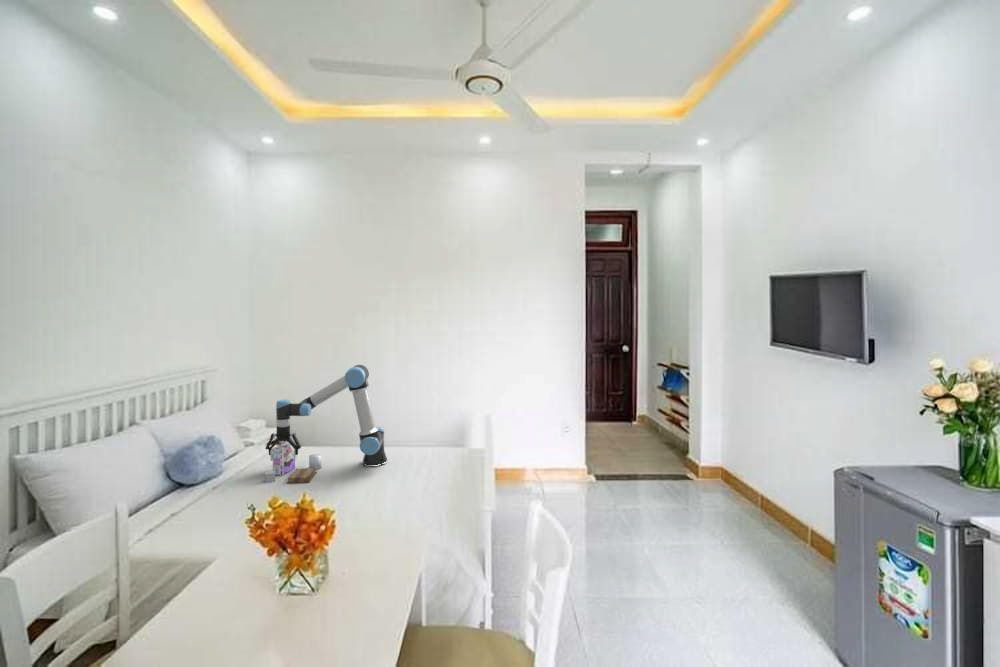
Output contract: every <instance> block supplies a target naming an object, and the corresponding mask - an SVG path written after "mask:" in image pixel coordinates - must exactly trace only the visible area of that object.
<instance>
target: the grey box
mask: <svg viewBox="0 0 1000 667" xmlns="http://www.w3.org/2000/svg"><path fill="white" fill-rule="evenodd" d="M264 475H265V484H267V483H273V482H275V483H276V475H275V470H274V471H273V470H268V471H267V470H266V471H265V472H264Z"/></svg>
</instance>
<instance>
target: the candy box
mask: <svg viewBox="0 0 1000 667" xmlns="http://www.w3.org/2000/svg"><path fill="white" fill-rule="evenodd" d="M272 449H273V460H272V471H274V470H275V476H280V477H281V476H284V475H286V474H287V473H290V472H292V471H293V470H296V460H295V461H294V450H295V449H294V448H293V447H292V445H291V444H290V443H289V442H287V441H285V442H284V443H282V444H280V445H278V446H274V447H273V448H272Z"/></svg>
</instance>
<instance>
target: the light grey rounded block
mask: <svg viewBox="0 0 1000 667" xmlns="http://www.w3.org/2000/svg"><path fill="white" fill-rule="evenodd" d="M308 466H309V467H308V468H316V471H318V470H321V469H322V454H320V453H313V454H310V455H309V457H308Z"/></svg>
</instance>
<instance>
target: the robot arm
mask: <svg viewBox="0 0 1000 667" xmlns="http://www.w3.org/2000/svg"><path fill="white" fill-rule="evenodd" d="M369 374H370V372H369V368H367V367H366V366H365V365H363V364H356V365H354V366H353V367H350V368H349V369H347V371H346V372H345V374H344V375H343V376H342V377H339V378H338V379H337V380H334V381H333V382H331V383H330V384H328V385H327V386H324V387H323V388H321V389H320V390H318V391H316V392H315V393H313V394H311V395H310V396H308V397H307V398H304V399H303V400H302V401H300V402H299V403H291V402H290V400H289V399H278V400H277V401H276V407H275V409H276V410H275V411H276V412H275V413H276V418H275V419H276V424H275V425H276V433H274V432H273V433H271V434H270V438H269V440H268V442H267V444H266V446H265V450H268V455H269V456H270V458H269V459H270V462H273V448H275V447H276V445H277V443H278V442H279V441H280V442H289V443H290V444H291V445H292V447H293V448H294V449H295V450H294V461H295V462H296V460H297V456H298V454H299V450H300V449H301V448H302V445H301V444H300V441H299V440H298V438H297V434H296V432H293V433H291V426H290V425H291V417H310V415H311V413H312V410H313V409H314V408H316V407H317V406H319V405H321V404H323V403H325V402H327V401H328V400H329V399H331V398H333V397H334V396H336V395H338V394H340V393H342V392H343V391H344V390H347V389H348V390H349V392H350V393H352V397H353V401H354V406H355V410H356V414H357V420H358V424H359V428H360V429H359V430H360V431H359V433H358V436H359V441H360V442H359V449H360V451H361V452H362V453H363V454H364V455H363V458H362V464H366V465H378V464H382V463H384V462H386V461H387V462H388V457H387V454H386V452H385V428H384V427H381V426H376V425H375V422H374V421H375V420H374V416H373V412H372V407H371V403H370V398H369V393H368V389H369V387H370V385H369V380H368V378H369V376H370V375H369ZM274 438H277V439H276V440H274ZM273 440H274V442H273ZM272 442H273V443H272Z"/></svg>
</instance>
